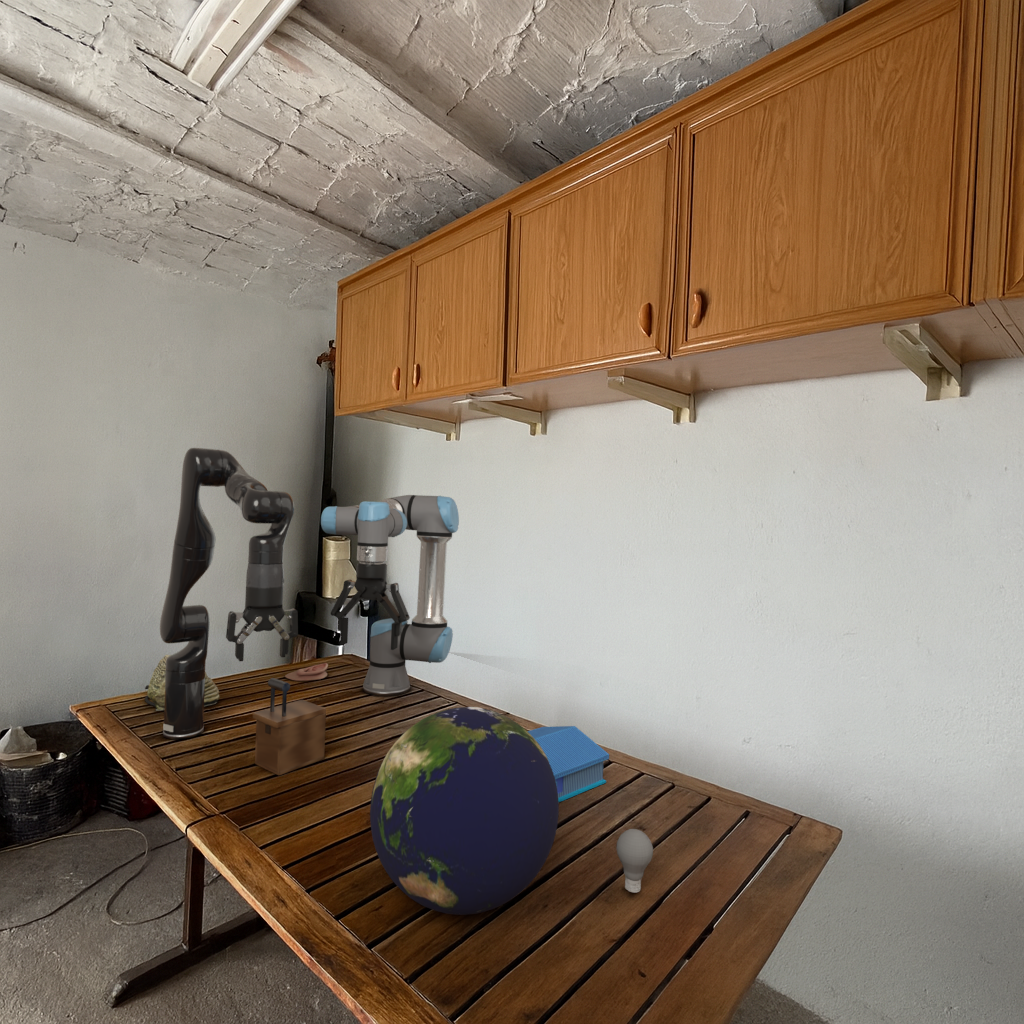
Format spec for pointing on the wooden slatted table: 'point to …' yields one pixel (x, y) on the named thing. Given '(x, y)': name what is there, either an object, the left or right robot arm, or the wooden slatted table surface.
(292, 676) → the anatomical model
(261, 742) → the chest
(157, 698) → the fossil
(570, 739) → the model building
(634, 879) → the light bulb
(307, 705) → the lid
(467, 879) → the globe
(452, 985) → the wooden slatted table surface
